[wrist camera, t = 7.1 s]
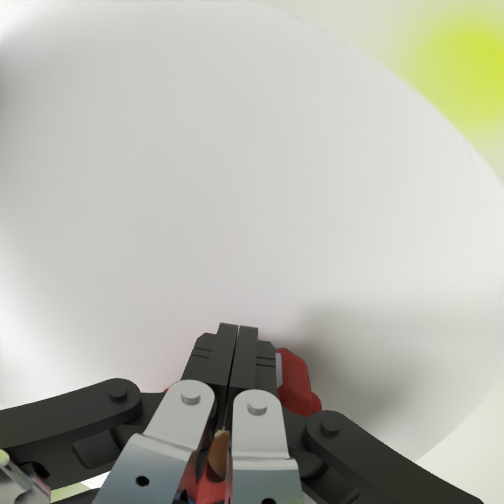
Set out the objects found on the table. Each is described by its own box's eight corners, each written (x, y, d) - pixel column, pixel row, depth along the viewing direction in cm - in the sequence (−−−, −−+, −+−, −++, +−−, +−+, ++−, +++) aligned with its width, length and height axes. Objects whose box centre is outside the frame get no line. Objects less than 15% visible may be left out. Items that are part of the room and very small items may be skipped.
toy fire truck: (340, 362, 14) (389, 525, 4) (221, 450, 17) (203, 559, 7) (243, 297, 13) (204, 508, 3) (144, 410, 16) (93, 520, 6)
